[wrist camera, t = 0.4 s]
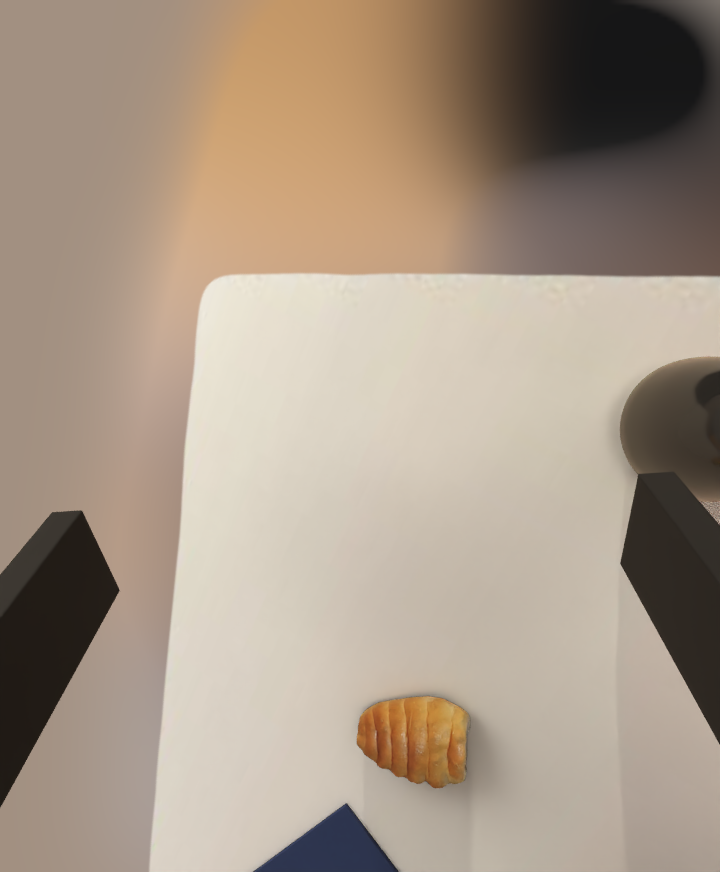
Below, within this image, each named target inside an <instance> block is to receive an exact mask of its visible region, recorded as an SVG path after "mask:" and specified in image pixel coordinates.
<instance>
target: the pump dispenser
mask: <svg viewBox="0 0 720 872" xmlns="http://www.w3.org/2000/svg"><path fill="white" fill-rule="evenodd" d="M620 437H621V443H622V447H623V450H624V453H625V456H626V458H627V460H628V462H629V463H630V465H631V466H632V468H633V469H634V471H635V472H636V473H637V474H644V473H659V472H675V473H676V474H677V476H678V477H679V478H680V479H681V480H682V482H683V483H684V484H685V485H686V486H687V487H688V489H689V490H690V491H691V492H692V493H693V495H694V496H695V497H696V498H697V499H698V500H699V501H700V502H718V501H720V357H695V358H688V359H683V360H679V361H676V362H673V363H670V364H667V365H665V366H662V367H660V368H658V369H657V370H655V371H653V372H652V373H650V374H649V375H648V376H646V377H645V378H644V379H643V380H642V381H641V382H640V383H639V384H638V385H637V386H636V387H635V388H634V390H633V391H632V393H631V394H630V396H629V397H628V399H627V401H626V404H625V406H624V409H623V412H622V416H621V422H620Z"/></svg>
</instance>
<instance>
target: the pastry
mask: <svg viewBox="0 0 720 872" xmlns="http://www.w3.org/2000/svg"><path fill="white" fill-rule="evenodd" d="M469 729H470V718H469V716H468V713H467V712H466V711H464V710H463V709H462V708H460V707H459V706H457V705H455V704H453V703H451V702H449V701H447V700H445V699H443V698H436V697H430V696H424V697H409V698H403V699H396V700H389V701H385V702H379V703H377V704H375V705H373V706H372V707H370V708H368V709H367V710H365V711H364V712H363V714H362V715H361V716H360V720H359V725H358V734H357V745H358V746H359V748H361V749H362V751H363V753H364V754H365V755H366V756H367V757H369V758H370V759H372V760H373V761H375V762H376V763H377V765H378V766H379V767H380V768H382V769H389V770H391V771H392V773H393V774H394V775H395V776H397V777H406V778H407V779H408V780H409V781H410V782H414V783H417V784H420V783H423V782H424V781H427V782H428V783H429V784H430V785H431V786H432V787H433V788H442V787H444V786H446V785H447V784H449V783H452V784H458V783H461V782H463V781H464V780H465V777H466V764H465V763H466V753H467V748H466V734H467V733H468V731H469Z"/></svg>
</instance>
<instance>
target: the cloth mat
mask: <svg viewBox="0 0 720 872" xmlns="http://www.w3.org/2000/svg"><path fill="white" fill-rule="evenodd" d="M254 872H398V871H397V869H396V868H395V867H394V865H393V864H392V863H391V861H390V860H389V859H388V858H387V856H386V855H385V854H384V852H383V851H382V850H381V848H380V847H379V846H378V844H377V843H376V842H375V840H374V839H373V838H372V836H371V835H370V834H369V832H368V831H367V830H366V829H365V827H364V826H363V825H362V823H361V822H360V821H359V819H358V818H357V817H356V815H355V814H354V813H353V811H352V810H351V809H350V807H349V806H348V805H347V804H345V805H343V806H342V807H341V808H339V809H338V810H337V811H335V812H334V813H333V814H331V815H330V816H329V817H327V818H326V819H324V820H323V821H322V822H320V823H319V824H318V825H316V826H315V827H314V828H312V829H311V830H310V831H308V832H307V833H305V834H304V835H303V836H301V837H300V838H299V839H297V840H296V841H295V842H293V843H292V844H290V845H289V846H288V847H286V848H285V849H284V850H282V851H281V852H280V853H278V854H277V855H276V856H274V857H273V858H271V859H270V860H269V861H267V862H266V863H265V864H263V865H262V866H261V867H259V868H258V869H257V870H255V871H254Z"/></svg>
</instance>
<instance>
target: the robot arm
mask: <svg viewBox="0 0 720 872" xmlns="http://www.w3.org/2000/svg"><path fill="white" fill-rule="evenodd" d="M620 564H621V566H622V567H623V569H624V571H625V573H626V575H627V577H628V578H629V580H630V582H631V584H632V586H633V588H634V589H635V591H636V593H637V595H638V597H639V598H640V600H641V602H642V604H643V606H644V608H645V609H646V611H647V613H648V615H649V617H650V618H651V620H652V622H653V624H654V626H655V628H656V629H657V631H658V633H659V635H660V637H661V638H662V640H663V642H664V644H665V646H666V648H667V649H668V651H669V653H670V655H671V657H672V659H673V660H674V662H675V664H676V666H677V668H678V669H679V671H680V673H681V675H682V677H683V679H684V680H685V682H686V684H687V686H688V688H689V689H690V691H691V693H692V695H693V697H694V699H695V700H696V702H697V704H698V706H699V708H700V709H701V711H702V713H703V715H704V717H705V719H706V720H707V722H708V724H709V726H710V728H711V730H712V731H713V733H714V735H715V737H716V739H717V740H718V742H719V744H720V525H719V524H718V523H717V522H716V521H715V519H714V518H713V517H712V516H711V515H710V513H709V512H708V511H707V510H706V509H705V508H704V506H703V505H702V504H701V503H700V502H699V500H698V499H697V498H696V497H695V496H694V495H693V493H692V492H691V491H690V490H689V489H688V487H687V486H686V485H685V484H684V483H683V482H682V480H681V479H680V478H679V477H678V476H677V474H676V473H675V472H659V473H644V474H638V479H637V484H636V489H635V494H634V499H633V504H632V509H631V514H630V519H629V524H628V529H627V534H626V538H625V543H624V548H623V553H622V558H621V563H620ZM118 592H119V588H118V586H117V584H116V582H115V579H114V577H113V575H112V573H111V571H110V569H109V567H108V565H107V562H106V560H105V558H104V556H103V554H102V552H101V550H100V548H99V546H98V543H97V541H96V539H95V537H94V535H93V533H92V531H91V529H90V527H89V524H88V522H87V520H86V518H85V516H84V514H83V512H82V511H67V512H52V513H51V514H50V516H49V517H48V518H47V519H46V520H45V522H44V523H43V524H42V525H41V526H40V528H39V529H38V530H37V531H36V533H35V534H34V535H33V536H32V537H31V539H30V540H29V541H28V542H27V543H26V544H25V546H24V547H23V548H22V549H21V551H20V552H19V553H18V554H17V555H16V557H15V558H14V559H13V560H12V561H11V563H10V564H9V565H8V566H7V568H6V569H5V570H4V571H3V572H2V573H1V575H0V807H1V805H2V804H3V802H4V800H5V798H6V796H7V794H8V792H9V791H10V789H11V787H12V785H13V784H14V782H15V780H16V778H17V776H18V774H19V773H20V771H21V769H22V767H23V765H24V764H25V762H26V760H27V758H28V756H29V754H30V753H31V751H32V749H33V747H34V745H35V744H36V742H37V740H38V738H39V736H40V734H41V732H42V731H43V729H44V727H45V725H46V723H47V722H48V720H49V718H50V716H51V714H52V713H53V711H54V709H55V707H56V705H57V703H58V701H59V700H60V698H61V696H62V694H63V693H64V691H65V689H66V687H67V685H68V683H69V682H70V680H71V678H72V676H73V674H74V672H75V671H76V669H77V667H78V665H79V663H80V662H81V660H82V658H83V656H84V654H85V653H86V651H87V649H88V647H89V645H90V643H91V642H92V640H93V638H94V636H95V634H96V632H97V631H98V629H99V627H100V625H101V623H102V622H103V620H104V618H105V616H106V614H107V613H108V611H109V609H110V607H111V605H112V603H113V602H114V600H115V598H116V596H117V594H118Z"/></svg>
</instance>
